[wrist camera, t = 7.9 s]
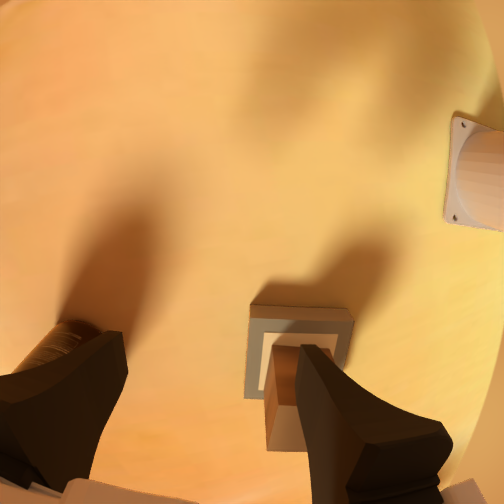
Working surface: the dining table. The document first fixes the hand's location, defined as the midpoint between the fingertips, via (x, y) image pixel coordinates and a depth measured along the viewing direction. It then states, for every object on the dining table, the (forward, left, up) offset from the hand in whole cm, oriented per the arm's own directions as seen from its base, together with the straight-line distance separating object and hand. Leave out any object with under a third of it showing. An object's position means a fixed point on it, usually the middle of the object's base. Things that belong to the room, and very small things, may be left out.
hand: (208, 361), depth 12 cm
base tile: (-5, +6, -10) cm, 13 cm away
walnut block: (-5, +6, -8) cm, 11 cm away
